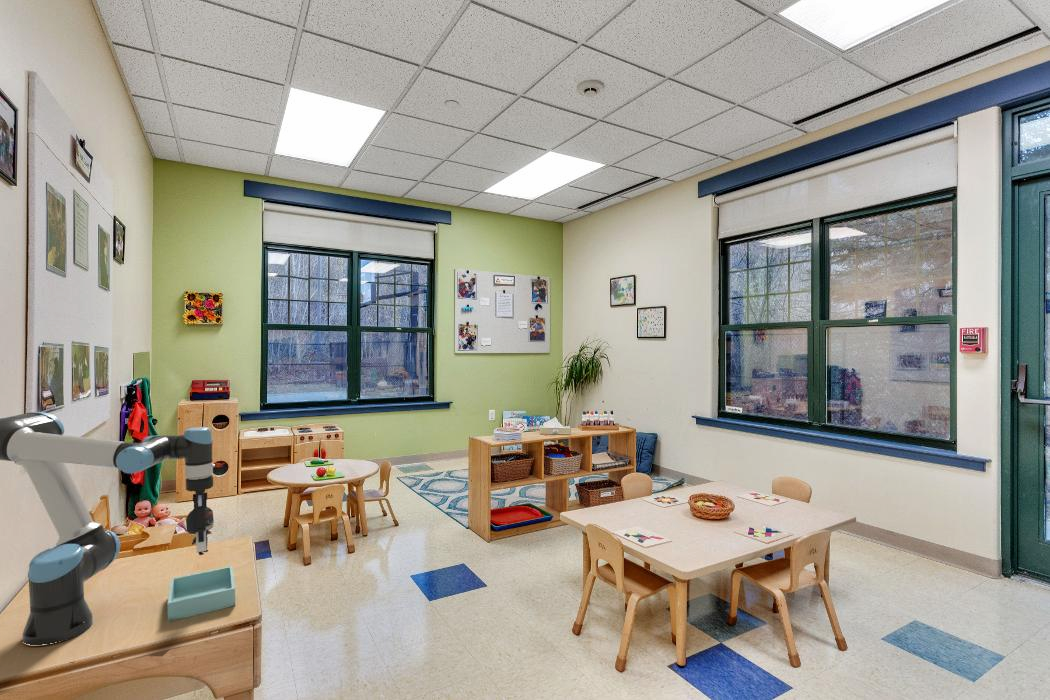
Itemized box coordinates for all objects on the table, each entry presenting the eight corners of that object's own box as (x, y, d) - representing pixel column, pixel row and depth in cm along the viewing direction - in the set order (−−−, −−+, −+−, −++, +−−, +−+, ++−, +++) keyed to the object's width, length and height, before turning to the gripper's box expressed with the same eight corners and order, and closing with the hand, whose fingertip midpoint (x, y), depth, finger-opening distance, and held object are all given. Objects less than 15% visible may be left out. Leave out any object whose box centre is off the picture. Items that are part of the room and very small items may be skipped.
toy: (204, 559, 164) (202, 512, 163) (180, 559, 164) (178, 511, 163) (222, 547, 173) (220, 502, 172) (198, 547, 173) (197, 502, 172)
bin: (168, 621, 156) (167, 603, 156) (171, 594, 172) (171, 578, 172) (235, 605, 166) (234, 588, 165) (232, 581, 182) (232, 565, 181)
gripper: (213, 482, 161) (215, 555, 162) (212, 467, 178) (214, 533, 179) (184, 486, 157) (186, 561, 158) (186, 470, 174) (188, 538, 175)
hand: (201, 546), depth 168 cm, fingers closed on toy, 7 cm apart
